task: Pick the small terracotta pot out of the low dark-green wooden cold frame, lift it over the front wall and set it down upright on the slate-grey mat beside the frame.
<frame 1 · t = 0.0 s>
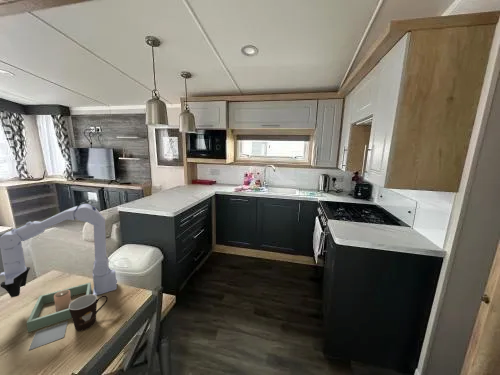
hand: (18, 291, 84), 10 cm above the table, fingers open, 7 cm apart
slate mat: (49, 334, 76), on the table
cold frame: (64, 307, 89), on the table
coffee mug: (90, 323, 81), on the table
terracotta pot: (64, 308, 89), resting in cold frame
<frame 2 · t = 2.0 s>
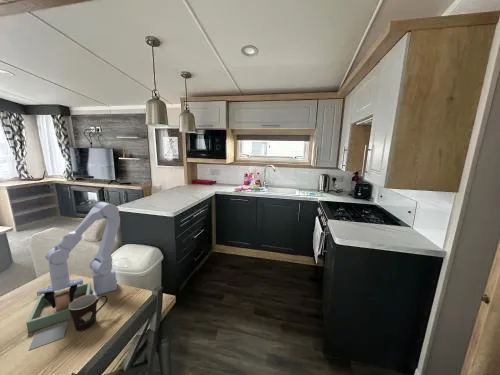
hand: (63, 304, 89), 2 cm above the table, fingers closed on terracotta pot, 5 cm apart
terracotta pot: (64, 308, 89), resting in cold frame, touching gripper
everything else where it was.
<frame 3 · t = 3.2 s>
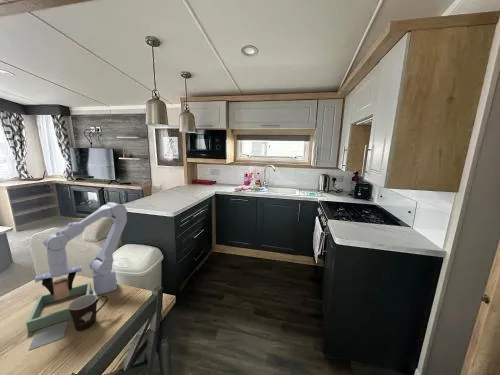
hand: (62, 291, 88), 8 cm above the table, fingers closed on terracotta pot, 5 cm apart
terracotta pot: (62, 295, 88), point 6 cm above the table, touching gripper
everything else where it was.
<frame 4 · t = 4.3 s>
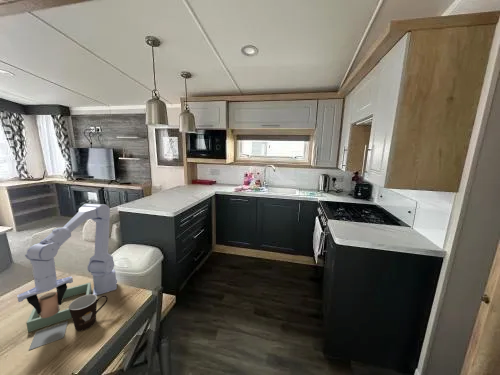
hand: (49, 308, 77), 9 cm above the table, fingers closed on terracotta pot, 5 cm apart
terracotta pot: (50, 312, 77), point 7 cm above the table, touching gripper
everything else where it was.
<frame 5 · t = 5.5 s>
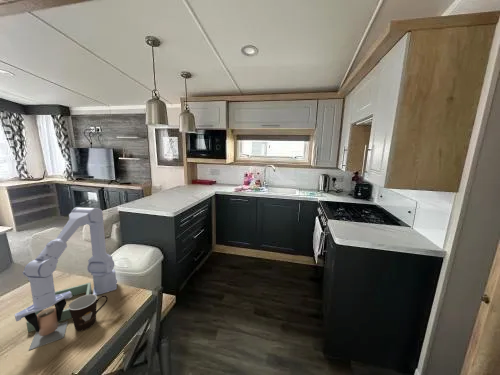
hand: (48, 324, 75), 4 cm above the table, fingers closed on terracotta pot, 5 cm apart
terracotta pot: (48, 329, 75), point 2 cm above the table, touching gripper
everything else where it was.
when the fingers open (3 cm above the table, at t = 6.6 s): terracotta pot stays where it is, resting on slate mat.
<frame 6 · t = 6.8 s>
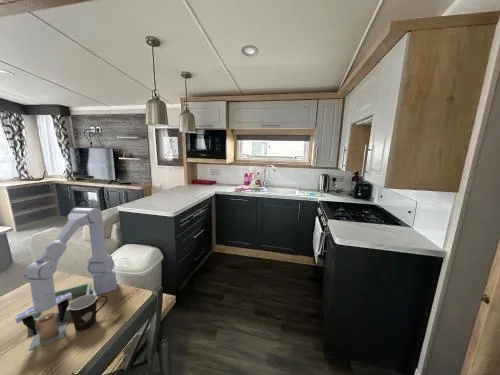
hand: (48, 326, 75), 3 cm above the table, fingers open, 7 cm apart
terracotta pot: (49, 333, 76), resting on slate mat
everything else where it was.
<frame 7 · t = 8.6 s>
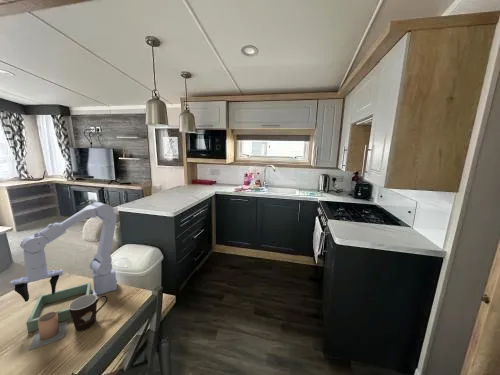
hand: (40, 296, 82), 9 cm above the table, fingers open, 7 cm apart
nothing on the table moved.
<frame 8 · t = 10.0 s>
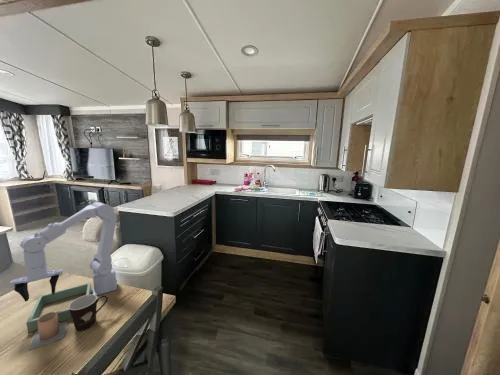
hand: (40, 296, 82), 9 cm above the table, fingers open, 7 cm apart
nothing on the table moved.
at the end: terracotta pot inside the target area (0.2 cm from its centre), resting on slate mat; terracotta pot tilted 2°; the gripper is holding nothing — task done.
